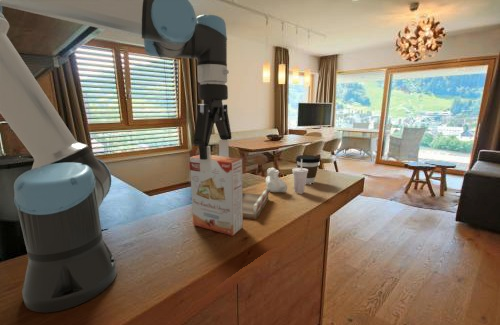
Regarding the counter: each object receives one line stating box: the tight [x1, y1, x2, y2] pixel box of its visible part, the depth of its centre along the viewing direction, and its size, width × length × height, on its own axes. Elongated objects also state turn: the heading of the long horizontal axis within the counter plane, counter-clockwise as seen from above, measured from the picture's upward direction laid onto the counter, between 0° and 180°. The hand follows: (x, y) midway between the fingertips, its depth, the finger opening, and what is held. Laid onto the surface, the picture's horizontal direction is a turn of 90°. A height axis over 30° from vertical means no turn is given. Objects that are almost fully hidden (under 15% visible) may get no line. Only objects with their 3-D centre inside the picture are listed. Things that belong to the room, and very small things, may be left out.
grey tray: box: [243, 187, 270, 220], centre depth 88 cm, size 18×11×5 cm, turn 164°
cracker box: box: [189, 154, 244, 237], centre depth 71 cm, size 14×6×21 cm, turn 62°
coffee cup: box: [295, 154, 321, 185], centre depth 115 cm, size 11×11×12 cm
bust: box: [265, 166, 288, 194], centre depth 103 cm, size 12×8×11 cm
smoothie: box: [291, 159, 308, 195], centre depth 101 cm, size 6×6×14 cm
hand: (215, 166), depth 69 cm, fingers open, 12 cm apart
